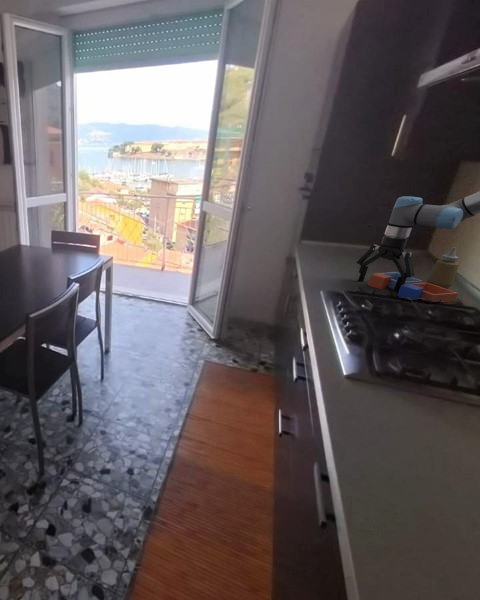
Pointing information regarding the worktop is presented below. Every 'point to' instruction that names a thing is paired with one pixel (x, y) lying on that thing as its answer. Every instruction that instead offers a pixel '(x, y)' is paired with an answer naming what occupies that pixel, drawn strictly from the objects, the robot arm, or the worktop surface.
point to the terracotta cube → (379, 280)
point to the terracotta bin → (436, 292)
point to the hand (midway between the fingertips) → (377, 285)
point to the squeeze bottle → (444, 270)
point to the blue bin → (395, 278)
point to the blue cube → (410, 291)
